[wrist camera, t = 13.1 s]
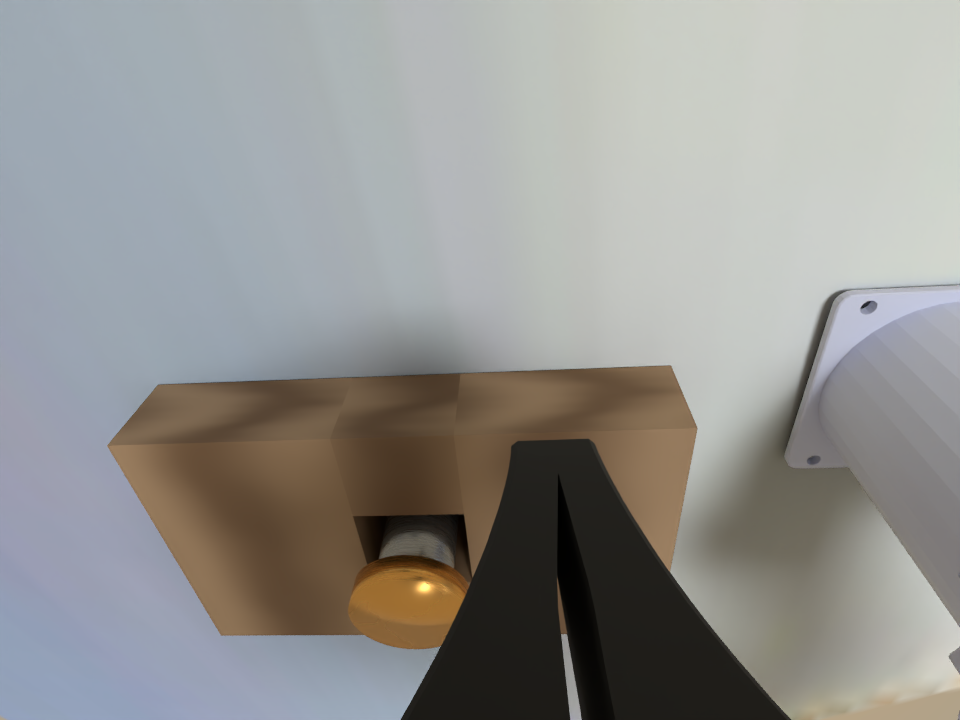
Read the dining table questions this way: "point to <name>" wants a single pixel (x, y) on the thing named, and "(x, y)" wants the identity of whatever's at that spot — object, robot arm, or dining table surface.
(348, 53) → the dining table surface
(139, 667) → the dining table surface
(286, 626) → the hitch block
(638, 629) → the robot arm
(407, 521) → the pin
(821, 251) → the dining table surface
